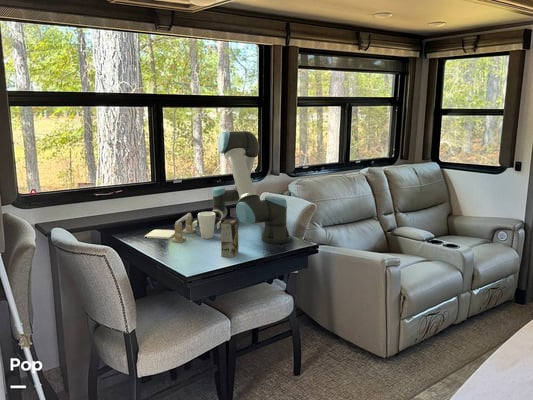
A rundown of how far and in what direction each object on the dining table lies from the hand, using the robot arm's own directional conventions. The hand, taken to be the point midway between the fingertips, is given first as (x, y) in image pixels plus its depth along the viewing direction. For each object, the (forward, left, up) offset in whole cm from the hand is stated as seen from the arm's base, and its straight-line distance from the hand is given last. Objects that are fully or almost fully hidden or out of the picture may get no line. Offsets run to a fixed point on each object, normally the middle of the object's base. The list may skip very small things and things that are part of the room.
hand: (205, 225), depth 245 cm
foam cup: (+3, -2, -7) cm, 8 cm away
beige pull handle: (+9, +10, -7) cm, 15 cm away
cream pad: (+16, +21, -7) cm, 27 cm away
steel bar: (+9, +10, +2) cm, 14 cm away
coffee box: (-31, -4, -7) cm, 32 cm away
